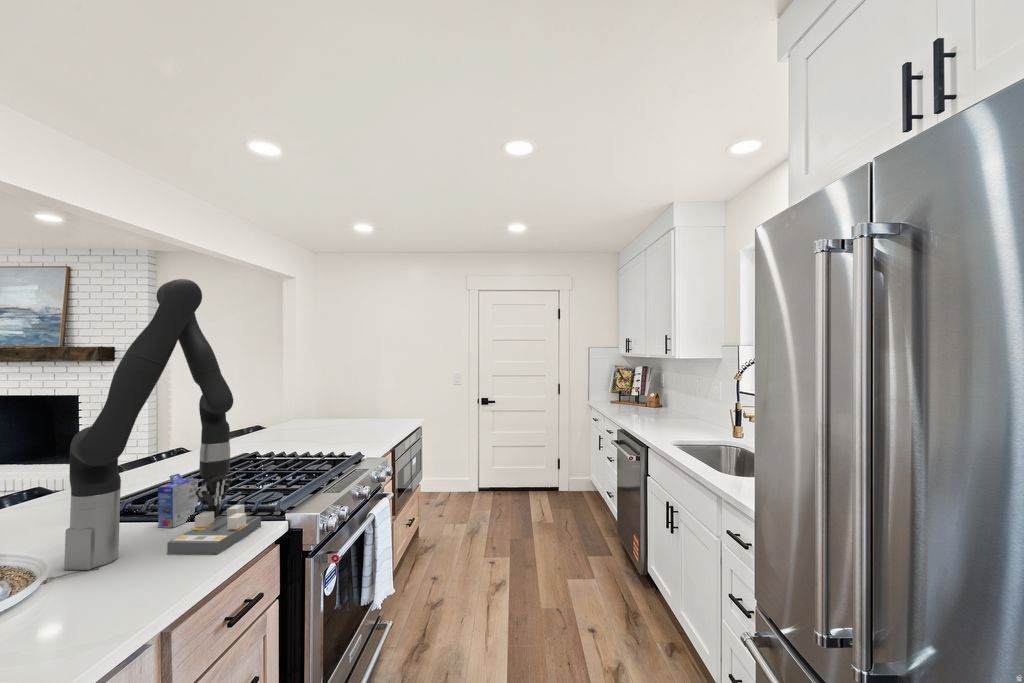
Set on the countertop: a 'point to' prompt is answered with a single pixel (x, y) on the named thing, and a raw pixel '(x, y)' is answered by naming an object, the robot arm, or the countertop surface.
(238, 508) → the middle tab
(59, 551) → the countertop surface
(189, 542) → the switch board
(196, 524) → the tab
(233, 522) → the tab
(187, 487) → the ink cartridge box
